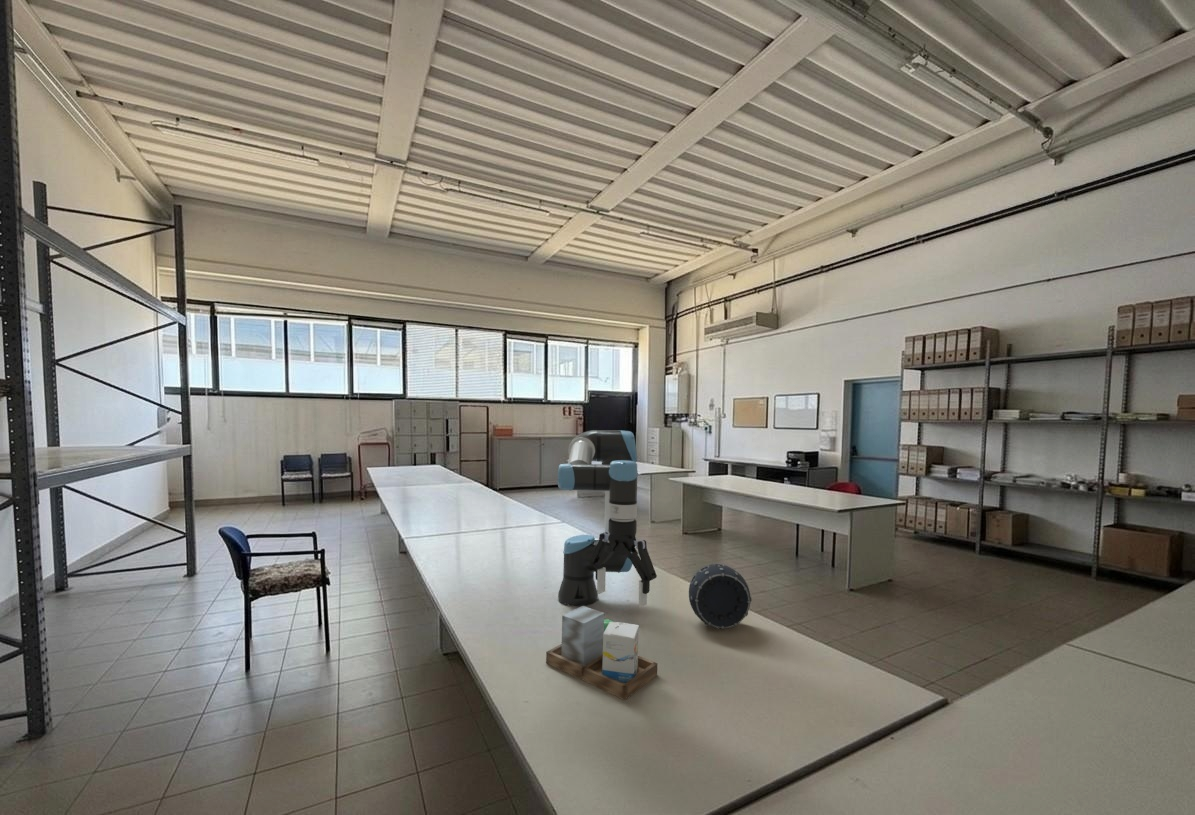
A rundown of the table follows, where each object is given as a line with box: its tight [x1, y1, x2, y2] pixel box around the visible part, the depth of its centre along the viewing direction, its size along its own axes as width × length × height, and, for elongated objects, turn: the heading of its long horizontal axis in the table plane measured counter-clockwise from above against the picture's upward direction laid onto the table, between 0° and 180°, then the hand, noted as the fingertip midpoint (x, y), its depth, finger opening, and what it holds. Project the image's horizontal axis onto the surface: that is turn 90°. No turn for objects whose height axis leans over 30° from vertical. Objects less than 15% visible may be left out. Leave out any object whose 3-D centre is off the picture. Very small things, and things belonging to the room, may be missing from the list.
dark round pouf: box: [688, 563, 753, 630], centre depth 157 cm, size 11×20×20 cm, turn 89°
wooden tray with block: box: [545, 606, 658, 701], centre depth 129 cm, size 27×15×13 cm, turn 52°
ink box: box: [602, 621, 640, 683], centre depth 124 cm, size 9×8×12 cm
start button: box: [604, 618, 614, 631], centre depth 145 cm, size 4×4×5 cm
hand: (621, 598), depth 125 cm, fingers open, 13 cm apart
